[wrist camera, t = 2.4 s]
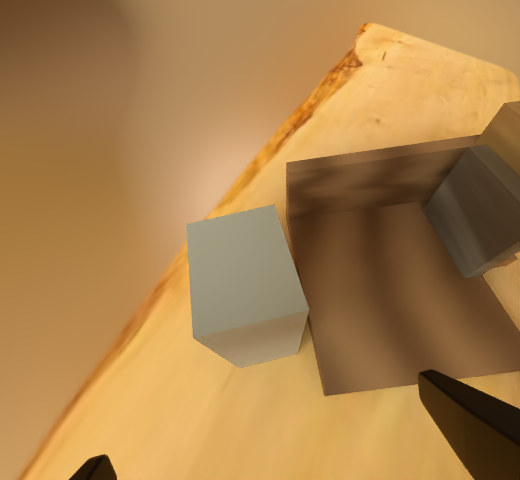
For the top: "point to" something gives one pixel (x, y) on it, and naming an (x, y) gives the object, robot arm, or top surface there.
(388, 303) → the wooden l-bracket
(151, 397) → the top surface
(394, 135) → the top surface
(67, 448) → the top surface
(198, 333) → the grey upright block
